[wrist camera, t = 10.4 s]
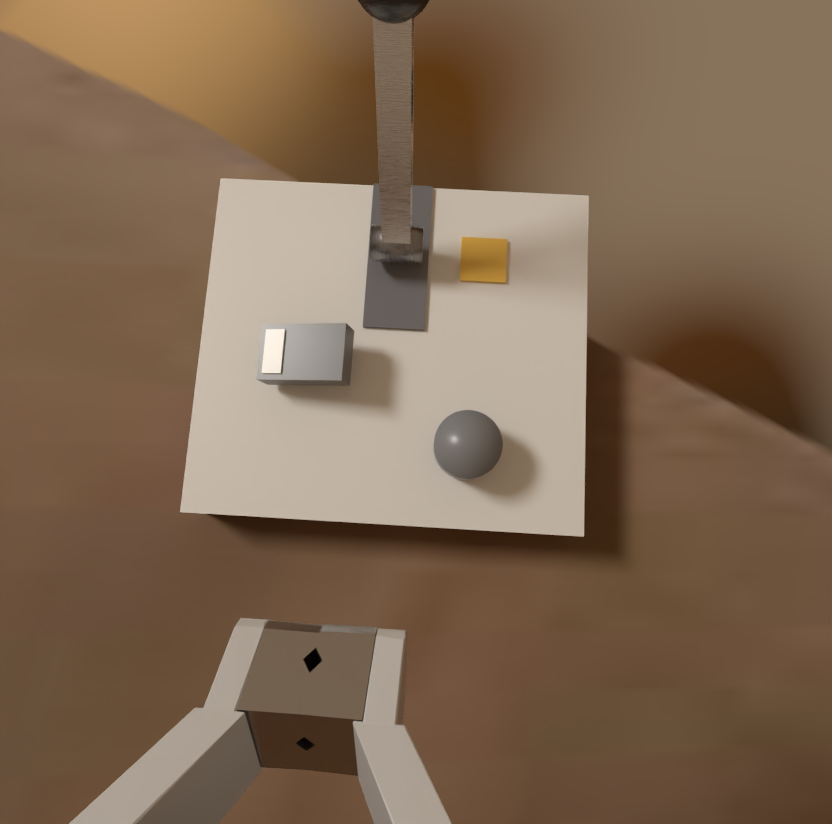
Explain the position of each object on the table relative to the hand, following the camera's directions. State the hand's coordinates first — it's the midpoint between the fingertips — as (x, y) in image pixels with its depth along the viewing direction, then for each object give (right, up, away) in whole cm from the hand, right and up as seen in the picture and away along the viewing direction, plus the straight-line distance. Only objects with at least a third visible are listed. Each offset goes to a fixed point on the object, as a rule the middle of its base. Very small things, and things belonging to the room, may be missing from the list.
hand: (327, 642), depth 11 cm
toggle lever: (+1, +13, +19) cm, 23 cm away
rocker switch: (-4, +7, +19) cm, 20 cm away
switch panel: (0, +7, +23) cm, 24 cm away
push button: (+4, +2, +18) cm, 19 cm away
